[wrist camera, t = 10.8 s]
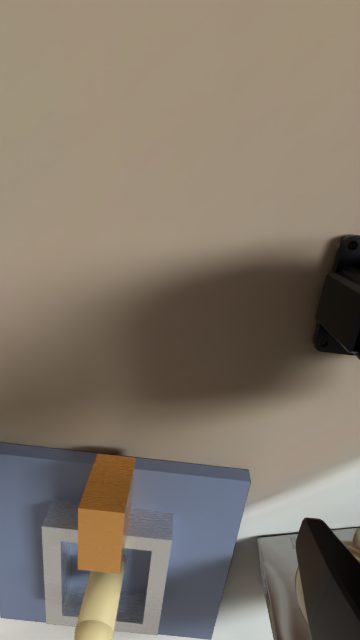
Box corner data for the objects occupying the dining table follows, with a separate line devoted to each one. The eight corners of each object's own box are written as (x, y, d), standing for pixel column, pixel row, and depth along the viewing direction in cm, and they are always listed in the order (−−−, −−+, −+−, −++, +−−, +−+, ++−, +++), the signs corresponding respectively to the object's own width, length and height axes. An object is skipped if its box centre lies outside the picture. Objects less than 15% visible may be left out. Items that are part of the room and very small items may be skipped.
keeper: (248, 469, 23) (270, 573, 17) (210, 625, 29) (215, 742, 23) (-13, 441, 23) (-90, 535, 16) (6, 604, 29) (-43, 716, 23)
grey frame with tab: (159, 604, 27) (154, 670, 23) (56, 593, 27) (34, 658, 23) (181, 462, 22) (179, 519, 18) (52, 448, 22) (23, 502, 18)
